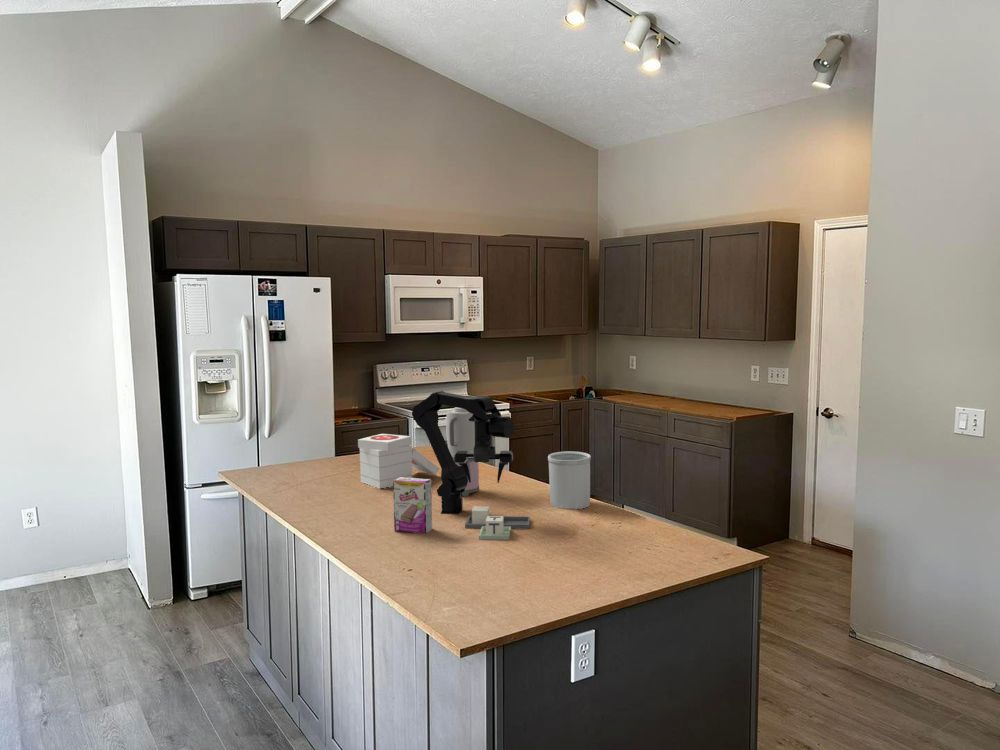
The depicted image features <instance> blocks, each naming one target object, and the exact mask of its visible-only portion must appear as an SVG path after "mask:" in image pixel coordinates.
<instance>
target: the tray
mask: <svg viewBox="0 0 1000 750" xmlns="http://www.w3.org/2000/svg"><path fill="white" fill-rule="evenodd" d="M511 532H512V529H511V527H504V534H503V535H486V526H482V528H480V531H479V534H478V540H483V541H484V540H491V541H492V540H493V541H496V540H501V541H502V540H503V541H508V540H509V541H510V536H511Z"/></svg>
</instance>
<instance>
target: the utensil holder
mask: <svg viewBox="0 0 1000 750" xmlns="http://www.w3.org/2000/svg"><path fill="white" fill-rule="evenodd" d="M591 459H592V456H591V454H589V453H587V452H582V451H573V450H572V451H569V450H568V451H558V452H552V453H550V454H548V456H547V461H548V476H549V481H548V482H549V499H550V501H549V502H550V506H551V505H552V506H553V507H552V506H551V507H552V508H556V509H563V510H577V509H579V510H583V508H584V509H586V507H587V508H588V507H590V505H591Z"/></svg>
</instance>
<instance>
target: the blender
mask: <svg viewBox="0 0 1000 750" xmlns="http://www.w3.org/2000/svg"><path fill="white" fill-rule="evenodd" d="M453 408H454V409H450V410H448V411H446V421H445V422H446V423H445V426H446V427H445V429H446V444H447V446H448V449H449V451H450V453H451V455H452V458H453V460H454V455H455V454H456V452H457V451H468V454H474V446H475V431H474V421H469V418H471V417H472V415H473V414H471V413H469V412H468V411H467V410H465V409H462V408H457V407H453ZM468 460H469V462H470V472H471V483H469V480H468V483H467V486H466V487H465V491H464V492H463V493H461V496H462V497H469V493H470V494H471V493H475V492H478V491H479V490H480V483H479V482H480V475H479V474H480V472H479V471H480V468H479V462H474V459H468ZM455 463H456V464H457V465H458V466H461V465H459V464H458V463H459V462H455ZM467 478H468V477H467Z"/></svg>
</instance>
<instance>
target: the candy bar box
mask: <svg viewBox="0 0 1000 750" xmlns="http://www.w3.org/2000/svg"><path fill="white" fill-rule="evenodd" d="M392 488H393V527H394V528H393V529H394V532H401V531H403V532H404V533H410V532H412V533H419V534H427V533H428V532H430V531H432V530H433V506H432V505H433V503H432V502H433V501H432V499H433V498H432V496H433V495H432V479H431V478H418V477H417V478H416V477H412V478H408V477H399V478H397V479H394V480H393V487H392Z"/></svg>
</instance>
